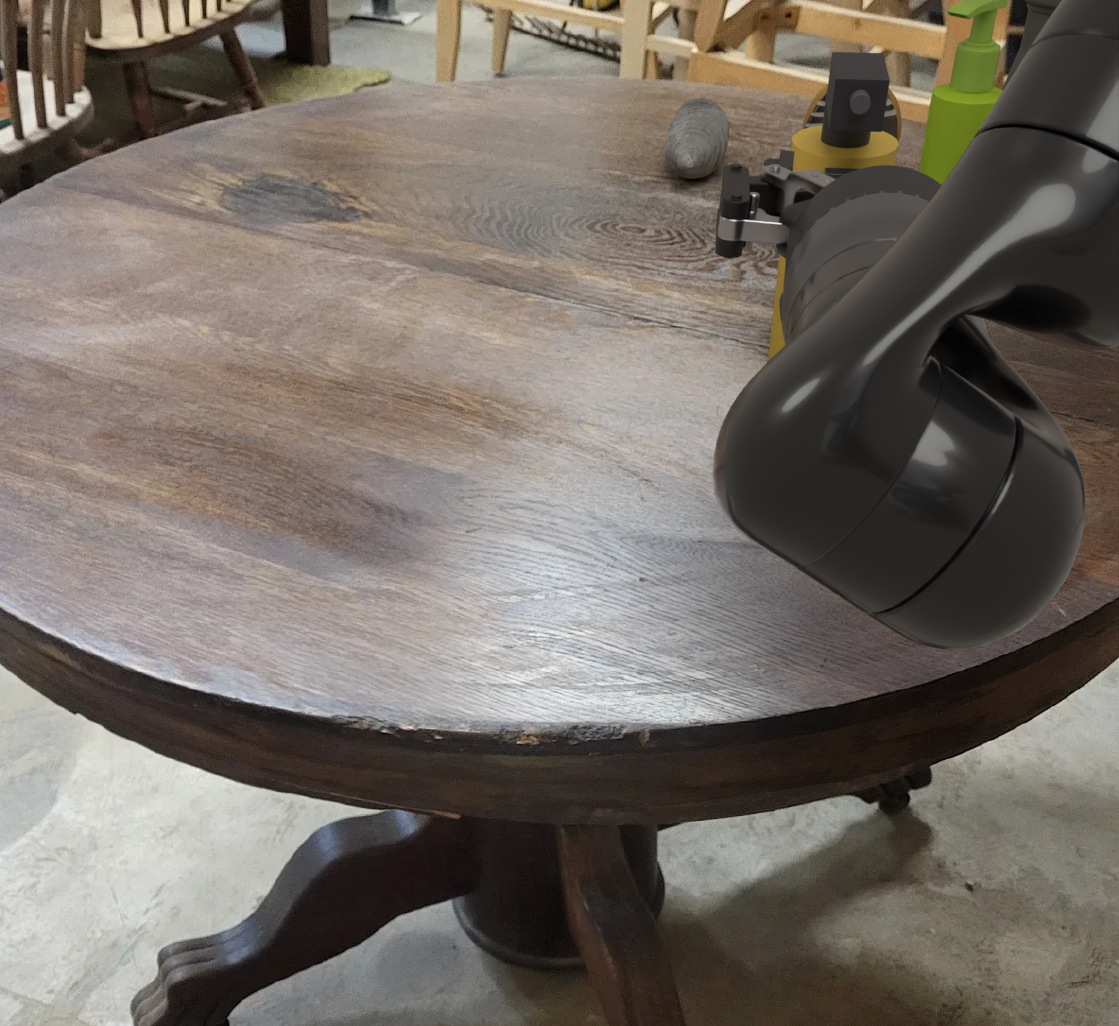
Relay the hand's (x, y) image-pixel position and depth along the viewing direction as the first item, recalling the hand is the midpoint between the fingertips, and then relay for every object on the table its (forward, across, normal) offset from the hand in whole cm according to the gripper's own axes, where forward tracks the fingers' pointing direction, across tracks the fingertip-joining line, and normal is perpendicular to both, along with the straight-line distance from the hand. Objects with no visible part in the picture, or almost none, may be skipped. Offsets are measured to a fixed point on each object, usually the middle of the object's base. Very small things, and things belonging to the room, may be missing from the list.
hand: (869, 180), depth 61 cm
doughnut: (+66, -3, +17) cm, 68 cm away
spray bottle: (+22, -1, +20) cm, 30 cm away
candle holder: (+55, -17, +17) cm, 60 cm away
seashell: (+65, +12, +18) cm, 69 cm away
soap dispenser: (+47, -11, +18) cm, 51 cm away
